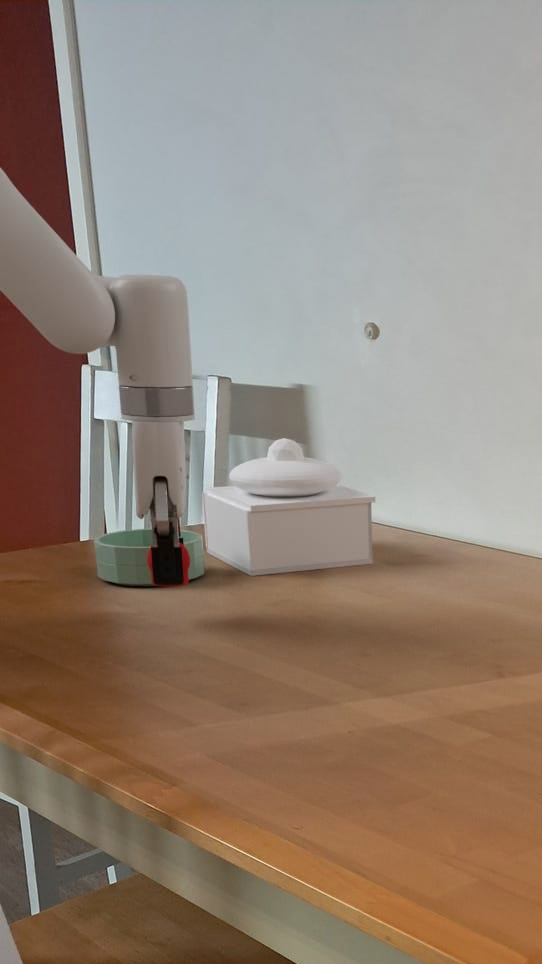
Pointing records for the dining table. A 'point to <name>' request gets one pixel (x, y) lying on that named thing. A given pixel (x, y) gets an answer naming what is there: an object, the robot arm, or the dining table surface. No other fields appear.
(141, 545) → the dessert bowl
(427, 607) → the dining table surface
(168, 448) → the robot arm
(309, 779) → the dining table surface
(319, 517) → the white lidded box
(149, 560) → the strawberry
